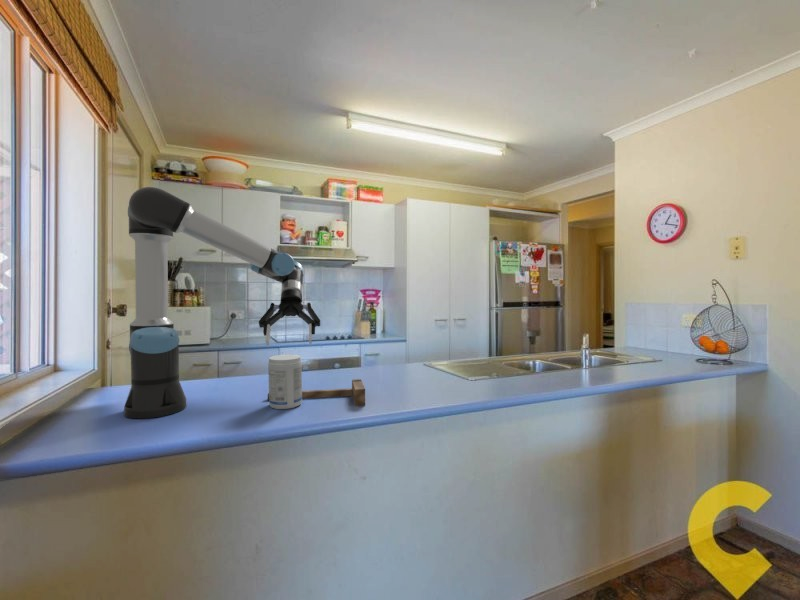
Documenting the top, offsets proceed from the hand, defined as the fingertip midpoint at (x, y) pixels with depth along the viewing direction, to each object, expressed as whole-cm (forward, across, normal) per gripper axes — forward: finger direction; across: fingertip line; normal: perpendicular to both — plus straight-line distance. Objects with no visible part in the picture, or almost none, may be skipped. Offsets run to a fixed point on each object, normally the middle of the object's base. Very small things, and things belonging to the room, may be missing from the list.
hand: (289, 341), depth 126 cm
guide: (+19, -9, -5) cm, 22 cm away
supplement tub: (+20, 0, -5) cm, 21 cm away
